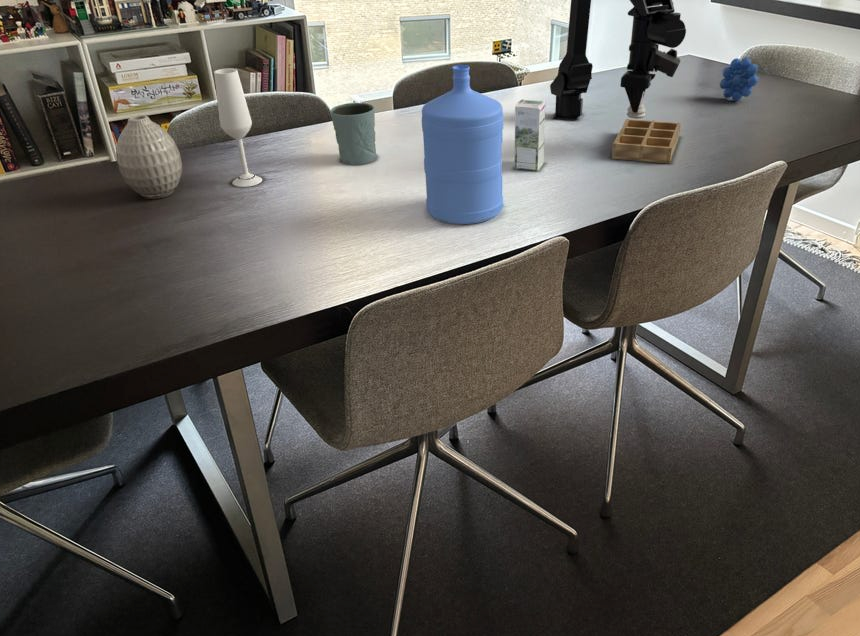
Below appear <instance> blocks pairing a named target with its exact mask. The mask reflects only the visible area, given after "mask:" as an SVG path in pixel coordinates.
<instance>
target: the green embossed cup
mask: <svg viewBox="0 0 860 636" xmlns="http://www.w3.org/2000/svg"><path fill="white" fill-rule="evenodd" d="M375 116H376V114H375V107H374V105H373V104H370V103H367V102H347V103H342V104H338V105H336V106H333V107H332V108H331V109H330V118H331V121H332V125H333V130H334V131H335V139H336V143H337V145H338V146H337V147H338V152H339V157H340V161H341V162H342V163H343V164H346V165H350V166H362V165H367V164H371V163H372V162H374V161H376V160H377V148H376V147H377V145H376V131H375V126H376V117H375Z"/></svg>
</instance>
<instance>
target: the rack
mask: <svg viewBox="0 0 860 636" xmlns="http://www.w3.org/2000/svg"><path fill="white" fill-rule="evenodd" d="M681 125H682V123H681V122H672V121H659V120H647V119H634V118H626V119H625V121H624V123H623V125H622V127H621V128H620V130H619V132H618V134H617V136H616V137H615V139H614V141H613V143H612V148H611V149H612V151H611V159H615V160H625V161H637V162H648V163H657V164H658V163H659V164H671V162H672V159H673V156H674V153H675V149H676V147H677V144H678V142H679V138H680V132H681Z"/></svg>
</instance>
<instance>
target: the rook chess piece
mask: <svg viewBox="0 0 860 636" xmlns="http://www.w3.org/2000/svg"><path fill="white" fill-rule="evenodd" d="M643 94H644V92H643ZM644 95H645V94H644ZM626 110H627V112H626V116H627V117H628V118H629V119H634V120H640V119H643V118H644V117H646V113H645V112H646V111H647V110H646V107H645V104H644V97H643V95H642V99H641V102H640V105H639V109H638V112H637V113H635V112H633V111H632V108H631V105H630V104H629V106H628V107H627V109H626Z"/></svg>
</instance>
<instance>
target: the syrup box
mask: <svg viewBox="0 0 860 636" xmlns="http://www.w3.org/2000/svg"><path fill="white" fill-rule="evenodd" d="M546 103H547V102H546V100H537V99H536V100H534V99H521V100H519V101H518V102H517V103H516V105H515V108H514V169H515V170H525V171H535V172H538V171H539V170H540V169H541V167H542V166H543V164H544V162H545V129H546Z"/></svg>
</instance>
